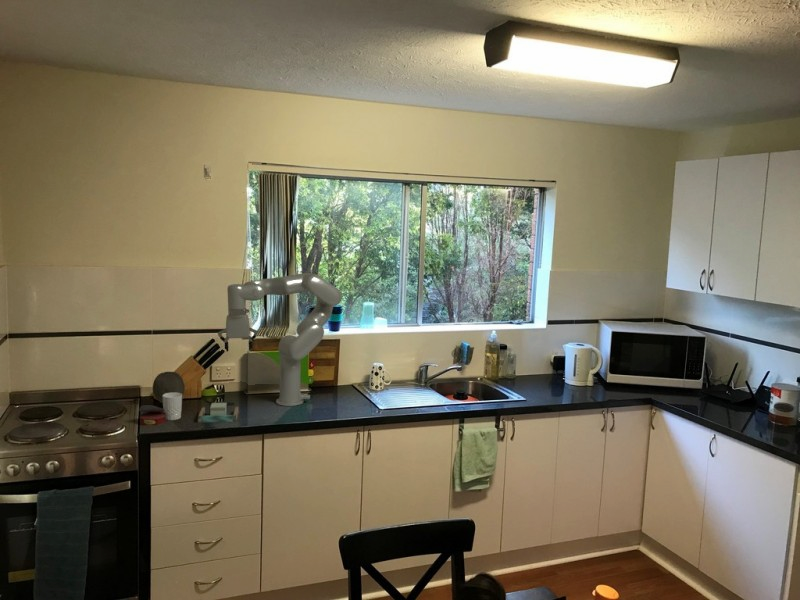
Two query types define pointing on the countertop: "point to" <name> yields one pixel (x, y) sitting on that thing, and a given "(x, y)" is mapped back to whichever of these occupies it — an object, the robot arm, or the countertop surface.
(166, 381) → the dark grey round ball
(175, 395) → the white cup
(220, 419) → the bay
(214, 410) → the crate
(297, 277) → the robot arm
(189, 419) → the countertop surface
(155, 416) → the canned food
